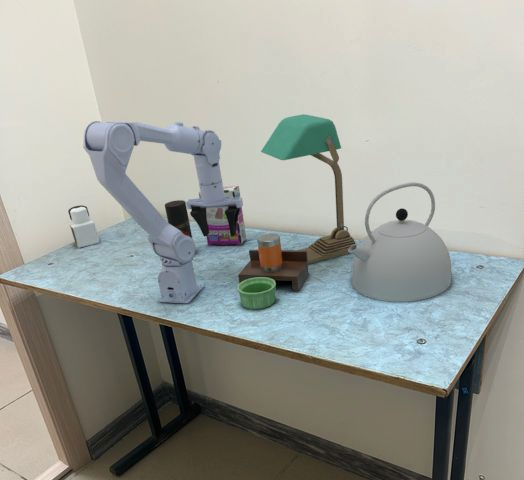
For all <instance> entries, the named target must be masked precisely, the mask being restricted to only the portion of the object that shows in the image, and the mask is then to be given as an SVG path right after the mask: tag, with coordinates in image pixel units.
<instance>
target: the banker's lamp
mask: <svg viewBox="0 0 524 480" xmlns="http://www.w3.org/2000/svg"><path fill="white" fill-rule="evenodd" d="M334 123H335V122H334V121H332V120H331V119H330V118H325V117H320V116H315V115H311V114H306V113H305V114H297V115H293V116H288V117H284V118H283V119H282V120H280V122H279V123H278V124H277V126H276V127H275V128H274V131H273V132H272V133H271V135H270V136H269V138H268V140H267V141H266V142H265V144H264V146H263V147H262V149H261V151H260V153H262V154H265V155H267V156H270V157H271V158H272V157H273V158H275V159H277V160H279V161H287V160H292V159H297V158H303V157H306V156H311V157H313V158H315V159H317V160H319V161H321V162H323V163H325V164H327V165H328V166H329V167H330V168H331V170H332V172H333V175H334V189H335V190H334V194H335V215H336V218H335V219H336V227H335V228H333V229H332V231H331V233H330V234H329V235H326V236H321V237H319V238H316V239H315V241H314V242H313V243H311V244H310V245H308V246H307V247H304V248H300V249H299V250H307V259H308V265H311V264H315V263H318V262H322V261H326V260H330V259H334V258H338V257H342V256H345V255H348V254H351V253H350V252H348V249H349V248H350V247H351V246H352V245H355V244H357V243H356V241H355V239H354V238H353V236H351V233H350V232H349V228H348V226H346V225H345V217H344V215H345V214H344V189H343V174H342V169H341V167H340V165H339V161H340V155H339V152H338V151H337V150H340V149H342V146H341V142H340V139H339V135H338V131H337V128H336V125H335V124H334ZM326 152H329V154H330V156H331V158H329V157H327V156H326V155H324V154H322V153H326Z"/></svg>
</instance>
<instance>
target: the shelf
mask: <svg viewBox="0 0 524 480" xmlns="http://www.w3.org/2000/svg"><path fill="white" fill-rule="evenodd" d="M248 252H249V253H248V254H249V261H248V262H247V263H246V264H245V266H244V267H243V268H242V269H241V270H240V272H239V273H238V274H237V277H238V284H239V283H241V282H242V281H244V280H247V279H250V278H255V277H267V278H271V279H273V280H274V281H290V282H291V285H292V292H297V293H298V292H299V291H300V290H301V289H302V287H303V285H304V283H305V281H306V280H307V278H308V276H309V275H310V273H309V264H308V259H307V250H300V249H281V252H282V264H283V268H282V270H280V271H278V272H274V273H265V272H262V271H261V266H260V259H259V251H258V249H249V251H248Z"/></svg>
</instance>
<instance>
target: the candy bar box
mask: <svg viewBox="0 0 524 480" xmlns="http://www.w3.org/2000/svg"><path fill="white" fill-rule="evenodd" d="M223 189H224V195H225V196H226V197H235V198H241V191H240V186H239V185H233V186H231V185H230V186H223ZM198 197H199V198H202V197H201V192H200V190H199V191H198ZM227 209H228V207H219V208H206V215H207V223H208V228H209V234H208V235H207V236H206V242H207V246H242V245H243V244H244V243H245V242H246V241H247V234H246V227H245V220H244V213H243V206H242V207H241V209H240V212H239V215H238V219H237V226H236V234H235V235H234V236H231V235H230V230H229V224H228V220H227V217H226V215H225V211H226V210H227Z"/></svg>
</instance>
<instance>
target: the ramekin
mask: <svg viewBox="0 0 524 480" xmlns="http://www.w3.org/2000/svg"><path fill="white" fill-rule="evenodd" d="M276 285H277V283H276V280H273V279H271V278H267V277H255V278H250V279H247V280H244V281H242V282H241V283H239V282H238V284H237V287H236V289H237V292H238V296H239V298H240V299H239V300H240V303H241V305H242V306H243V307H244V308H246V309H249V310H250V309H251V310H261V309H265V308H268V307H271V306H272V305H273V304H274V303H275V302H276Z"/></svg>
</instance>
